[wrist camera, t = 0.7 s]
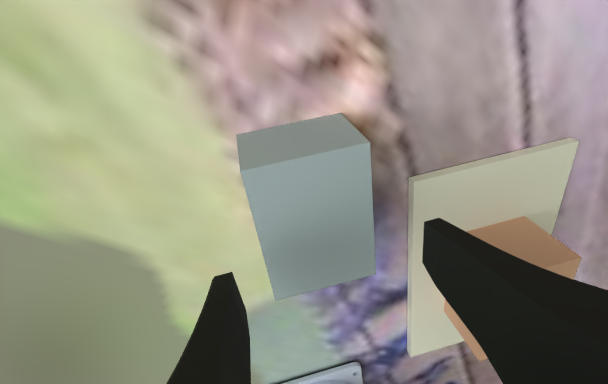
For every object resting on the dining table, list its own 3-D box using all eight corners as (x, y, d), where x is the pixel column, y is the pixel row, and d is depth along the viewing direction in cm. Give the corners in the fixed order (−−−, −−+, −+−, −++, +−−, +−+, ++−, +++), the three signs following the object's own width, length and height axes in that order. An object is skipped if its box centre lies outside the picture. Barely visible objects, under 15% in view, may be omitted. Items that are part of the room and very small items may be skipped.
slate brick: (349, 226, 20) (376, 274, 17) (266, 247, 20) (275, 301, 16) (339, 111, 16) (370, 142, 13) (236, 133, 16) (240, 170, 12)
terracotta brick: (506, 292, 25) (551, 338, 22) (443, 310, 25) (479, 361, 21) (524, 215, 21) (581, 257, 18) (450, 235, 21) (495, 282, 18)
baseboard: (520, 316, 28) (526, 322, 28) (407, 350, 27) (410, 357, 27) (570, 137, 20) (579, 141, 19) (408, 177, 19) (413, 182, 18)
